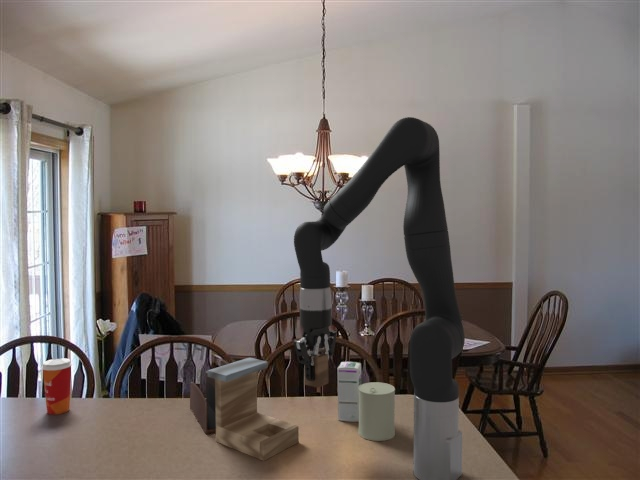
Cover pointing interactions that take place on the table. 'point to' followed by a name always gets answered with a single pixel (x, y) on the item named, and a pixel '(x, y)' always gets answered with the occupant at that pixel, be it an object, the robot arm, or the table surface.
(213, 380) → the letter holder
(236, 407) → the socket stand
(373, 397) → the can
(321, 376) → the peg
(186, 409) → the table surface
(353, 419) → the syrup box
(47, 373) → the paper cup
